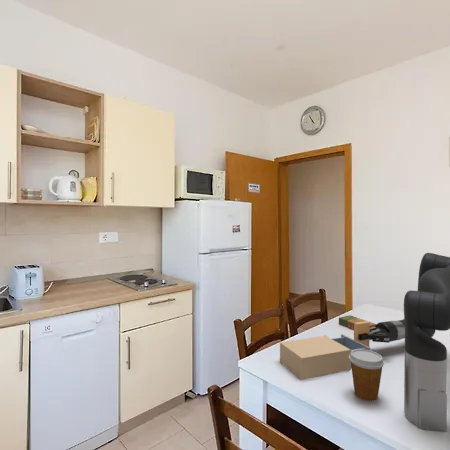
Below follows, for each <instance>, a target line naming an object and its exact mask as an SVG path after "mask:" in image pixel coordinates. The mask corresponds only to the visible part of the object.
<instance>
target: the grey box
mask: <svg viewBox="0 0 450 450" xmlns="http://www.w3.org/2000/svg"><path fill="white" fill-rule="evenodd" d="M367 321H368V320H365V321H364V322H357V323H354V330H353V338H351V337H349V336H348V335H345V334H343V333H342V334H340V337H334V338H331V339H332V340H334V341H336V342H337V343H339V344H341V345H343V346H345V347H347V348H349V349H350V350H351V351H353V350H357V349H364V350H370V351H371V347H370V340H361V341H360V340H358V335H359V334H363V333H369V332H370V322H371V321H369V322H367Z"/></svg>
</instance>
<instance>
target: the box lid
mask: <svg viewBox="0 0 450 450" xmlns="http://www.w3.org/2000/svg"><path fill="white" fill-rule="evenodd" d="M332 339H333V338H330V337H328V336H326V335H321V336H313V337H306V338H300V339H293V340H287V341H286V340H285V341H280V342H279V362H281V364H283V365H284V367H286V368H287V369H288V370H290V371H291V372H292V373H293V374H295V375H296V376H297V377H298V378H300V380H308V379H311V378H312V379H313V378H317V377H321V376H326V375H331V374H334V373H336V374H337V373H341V372H345V371H350V370H351V371H352V367H351V361H350V359H349V355H350V354H351V350H350V349H349V348H347V347H345V346H343V345H341V344H339V343H337V342H336V341H334V340H332Z"/></svg>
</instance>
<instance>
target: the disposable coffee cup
mask: <svg viewBox="0 0 450 450" xmlns="http://www.w3.org/2000/svg"><path fill="white" fill-rule="evenodd" d="M349 359H350V361H351V373H352V383H353V390H354V395H355V396H356V397H357V398H358V399H361V400H362V401H367V402H374V401H377V400H378V399H379V392H380V385H381V379H382V372H383V368H384V365H385V361H384V359H383V356H382V355H381V354H380V353H378V352H375V351H373V350H371V349H370V350H364V349H357V350H353V351H351V354H350V355H349Z"/></svg>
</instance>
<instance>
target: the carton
mask: <svg viewBox="0 0 450 450" xmlns="http://www.w3.org/2000/svg"><path fill="white" fill-rule="evenodd" d="M364 321H367V322H370V327H375V326H376V324H377V323H374V322H371V321H368V320H365V319H363V318H359V317H356V316H354V315H345V316H339V317H338V325H339V326H341V327H344V328H346V329H349V330H352V331H354V323H357V322H364Z"/></svg>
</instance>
